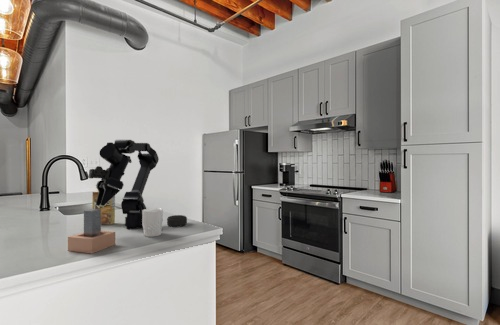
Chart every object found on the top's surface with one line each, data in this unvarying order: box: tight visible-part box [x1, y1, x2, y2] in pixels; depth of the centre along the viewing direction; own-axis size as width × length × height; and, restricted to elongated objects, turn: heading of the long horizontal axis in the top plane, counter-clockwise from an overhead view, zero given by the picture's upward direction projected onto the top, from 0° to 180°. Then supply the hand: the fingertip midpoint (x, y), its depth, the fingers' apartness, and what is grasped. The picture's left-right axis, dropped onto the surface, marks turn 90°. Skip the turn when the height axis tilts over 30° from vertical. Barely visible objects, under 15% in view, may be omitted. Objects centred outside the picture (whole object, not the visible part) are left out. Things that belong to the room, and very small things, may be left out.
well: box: [67, 230, 116, 254], centre depth 96 cm, size 10×10×4 cm
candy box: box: [91, 190, 116, 226], centre depth 132 cm, size 9×4×15 cm, turn 93°
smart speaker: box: [166, 214, 188, 228], centre depth 131 cm, size 9×9×4 cm
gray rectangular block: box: [83, 208, 102, 237], centre depth 96 cm, size 4×4×12 cm
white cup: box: [142, 207, 164, 238], centre depth 113 cm, size 8×8×10 cm
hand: (99, 205), depth 107 cm, fingers open, 9 cm apart
